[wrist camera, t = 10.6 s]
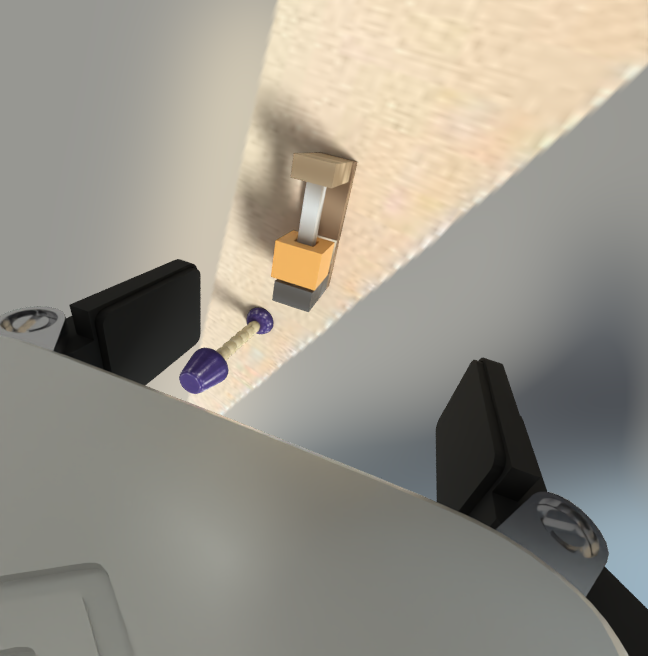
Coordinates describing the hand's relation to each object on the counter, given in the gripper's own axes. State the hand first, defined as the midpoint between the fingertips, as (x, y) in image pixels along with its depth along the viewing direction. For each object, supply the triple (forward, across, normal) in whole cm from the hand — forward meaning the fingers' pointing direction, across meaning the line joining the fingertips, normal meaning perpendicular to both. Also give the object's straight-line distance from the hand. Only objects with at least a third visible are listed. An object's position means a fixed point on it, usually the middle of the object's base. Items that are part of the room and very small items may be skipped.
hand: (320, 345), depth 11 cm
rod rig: (+30, +8, +4) cm, 32 cm away
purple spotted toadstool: (+31, +15, +20) cm, 39 cm away
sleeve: (+26, +8, +6) cm, 28 cm away
